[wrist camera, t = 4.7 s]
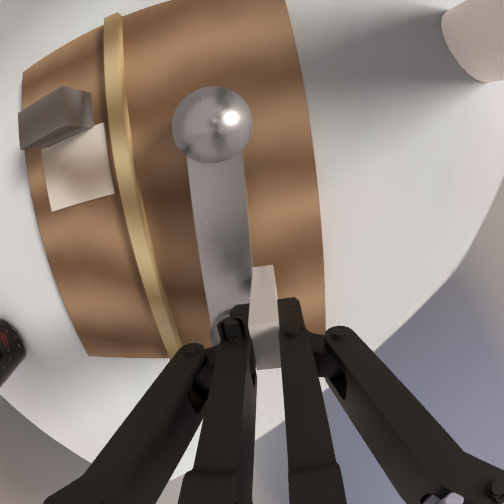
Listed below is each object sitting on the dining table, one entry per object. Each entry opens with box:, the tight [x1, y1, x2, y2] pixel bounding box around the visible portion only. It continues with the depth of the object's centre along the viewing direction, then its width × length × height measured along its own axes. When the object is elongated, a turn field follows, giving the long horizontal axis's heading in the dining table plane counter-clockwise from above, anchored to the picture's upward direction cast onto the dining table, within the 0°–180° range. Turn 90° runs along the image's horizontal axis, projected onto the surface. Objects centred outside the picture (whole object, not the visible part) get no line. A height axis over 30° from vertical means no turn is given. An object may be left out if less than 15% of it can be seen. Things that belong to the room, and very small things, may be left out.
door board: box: [18, 0, 326, 360], centre depth 17 cm, size 30×24×5 cm
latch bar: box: [172, 86, 254, 346], centre depth 17 cm, size 17×4×3 cm, turn 5°
